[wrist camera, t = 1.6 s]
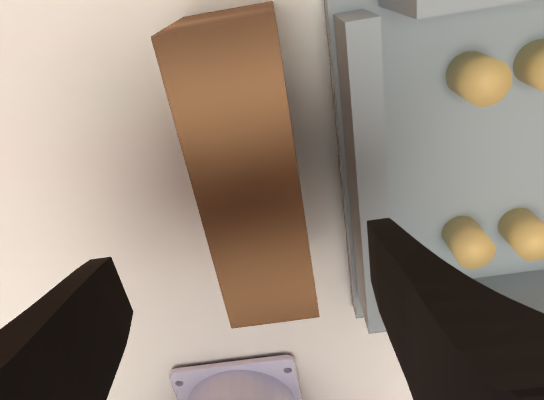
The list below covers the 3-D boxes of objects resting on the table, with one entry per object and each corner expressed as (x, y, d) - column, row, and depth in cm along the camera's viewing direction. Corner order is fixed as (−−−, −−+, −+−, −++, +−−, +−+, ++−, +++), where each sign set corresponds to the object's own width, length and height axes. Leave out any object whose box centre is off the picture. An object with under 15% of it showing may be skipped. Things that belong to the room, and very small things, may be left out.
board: (307, 239, 24) (319, 317, 19) (239, 249, 24) (231, 328, 19) (272, 0, 18) (275, 14, 13) (183, 16, 19) (150, 36, 13)
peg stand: (599, 274, 25) (688, 357, 20) (353, 306, 26) (375, 393, 21) (688, -103, 17) (886, -135, 11) (320, -36, 18) (344, -37, 12)
